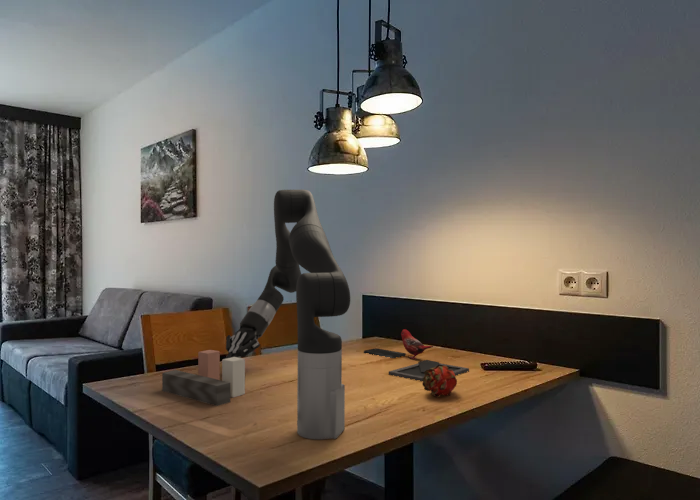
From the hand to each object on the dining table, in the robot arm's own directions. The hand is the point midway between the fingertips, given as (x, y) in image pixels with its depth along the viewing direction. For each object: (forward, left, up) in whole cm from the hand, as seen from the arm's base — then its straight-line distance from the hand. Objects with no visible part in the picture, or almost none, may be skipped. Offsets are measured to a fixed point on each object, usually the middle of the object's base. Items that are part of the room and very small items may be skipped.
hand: (226, 365), depth 145 cm
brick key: (+2, +6, -4) cm, 7 cm away
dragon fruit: (-59, -7, -6) cm, 60 cm away
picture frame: (-53, -31, -6) cm, 62 cm away
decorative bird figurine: (-46, -49, -6) cm, 68 cm away
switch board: (-2, +13, -5) cm, 14 cm away
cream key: (-9, +12, -4) cm, 16 cm away
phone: (-33, -56, -6) cm, 66 cm away
